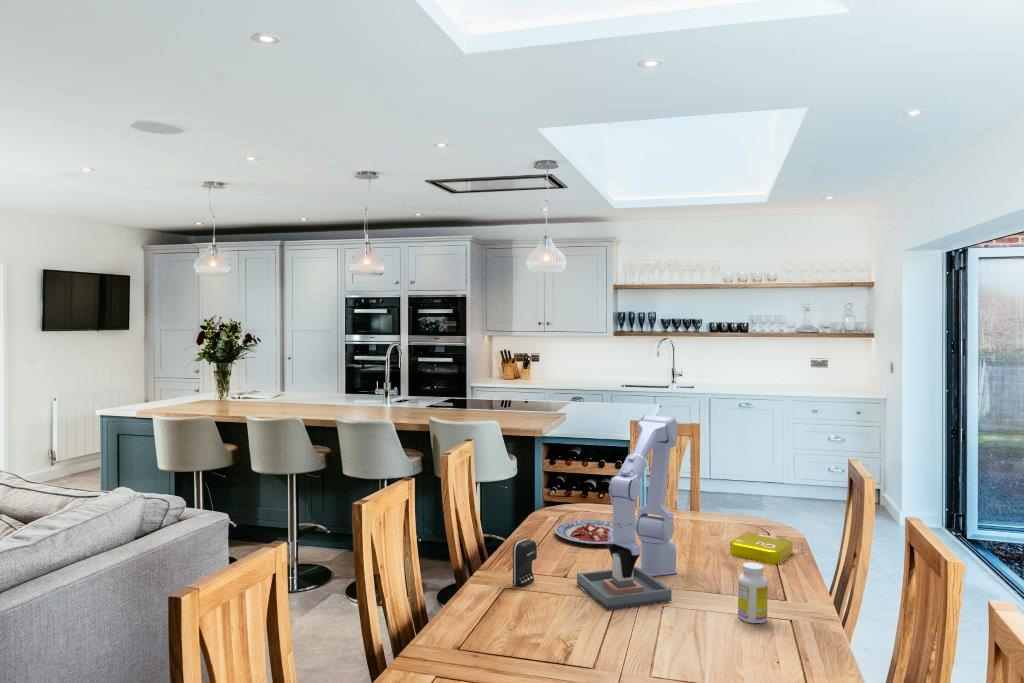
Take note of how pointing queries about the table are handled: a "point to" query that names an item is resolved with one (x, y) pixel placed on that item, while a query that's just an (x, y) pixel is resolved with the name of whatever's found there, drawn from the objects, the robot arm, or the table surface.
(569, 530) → the ceramic plate
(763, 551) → the element tile
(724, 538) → the table surface
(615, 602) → the walled box
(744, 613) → the supplement bottle
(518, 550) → the battery charger
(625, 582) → the grey square prism
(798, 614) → the table surface
